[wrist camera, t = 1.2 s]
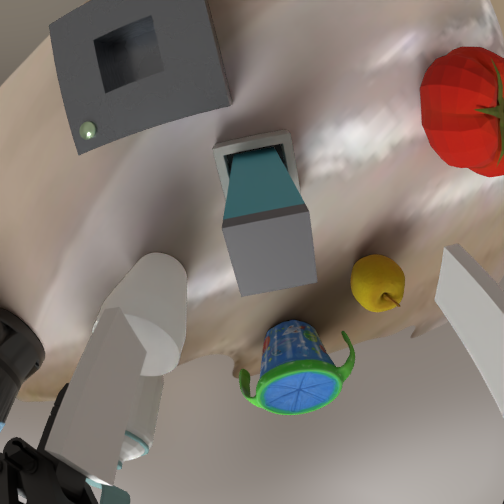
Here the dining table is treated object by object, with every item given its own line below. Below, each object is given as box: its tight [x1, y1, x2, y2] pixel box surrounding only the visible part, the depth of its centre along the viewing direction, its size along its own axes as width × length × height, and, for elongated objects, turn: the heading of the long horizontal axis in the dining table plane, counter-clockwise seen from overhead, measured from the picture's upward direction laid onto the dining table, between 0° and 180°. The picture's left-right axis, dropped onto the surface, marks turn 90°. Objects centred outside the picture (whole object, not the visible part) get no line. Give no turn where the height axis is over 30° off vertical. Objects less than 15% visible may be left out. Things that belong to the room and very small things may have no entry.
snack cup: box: [239, 320, 355, 415], centre depth 36 cm, size 16×11×10 cm
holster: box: [212, 130, 301, 201], centre depth 28 cm, size 7×7×3 cm
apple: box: [351, 254, 405, 312], centre depth 32 cm, size 6×6×8 cm
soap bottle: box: [86, 375, 164, 504], centre depth 30 cm, size 12×12×31 cm
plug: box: [222, 147, 317, 297], centre depth 22 cm, size 4×4×17 cm
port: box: [49, 0, 232, 155], centre depth 20 cm, size 14×14×6 cm
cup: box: [92, 253, 187, 376], centre depth 30 cm, size 9×9×12 cm
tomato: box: [420, 47, 504, 177], centre depth 20 cm, size 13×14×12 cm
